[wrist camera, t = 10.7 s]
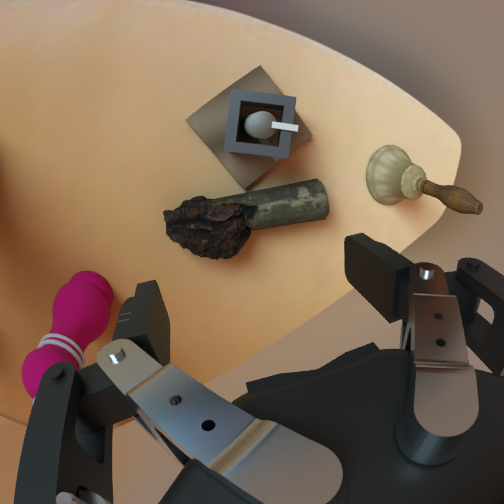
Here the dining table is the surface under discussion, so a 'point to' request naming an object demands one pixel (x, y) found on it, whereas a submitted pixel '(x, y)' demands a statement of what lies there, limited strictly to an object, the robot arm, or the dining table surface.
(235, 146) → the gray open box
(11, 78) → the dining table surface
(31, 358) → the pepper mill
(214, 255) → the burnt branch
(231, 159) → the shaft base
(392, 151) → the hand bell
